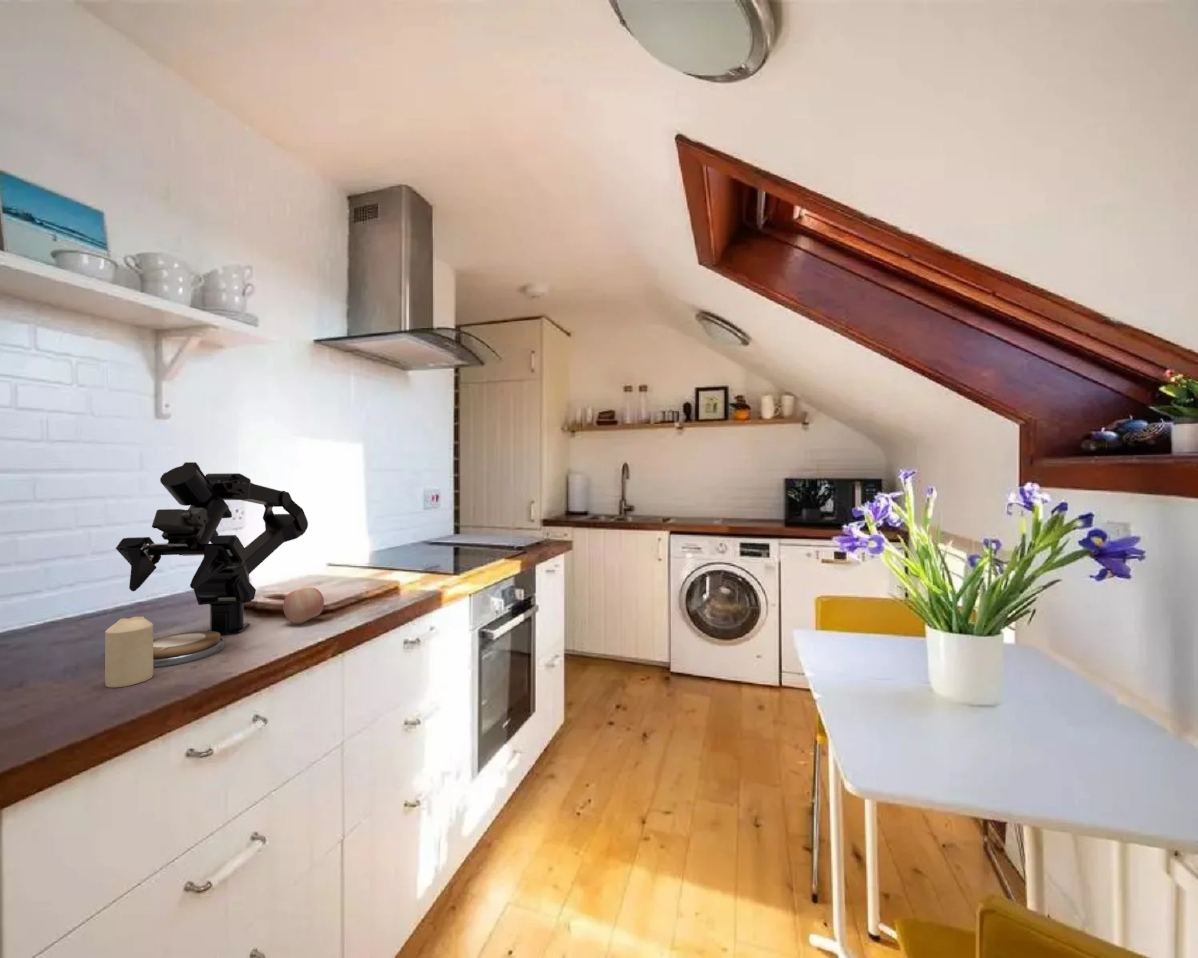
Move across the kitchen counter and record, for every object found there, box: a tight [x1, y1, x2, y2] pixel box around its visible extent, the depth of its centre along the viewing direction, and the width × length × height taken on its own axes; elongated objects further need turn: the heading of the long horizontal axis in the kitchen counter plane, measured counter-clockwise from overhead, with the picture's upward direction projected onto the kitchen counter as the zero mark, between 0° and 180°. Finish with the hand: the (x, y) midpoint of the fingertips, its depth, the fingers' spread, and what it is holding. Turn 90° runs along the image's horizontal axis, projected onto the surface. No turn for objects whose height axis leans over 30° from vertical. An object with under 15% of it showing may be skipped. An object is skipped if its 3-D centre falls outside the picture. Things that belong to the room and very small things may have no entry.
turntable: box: [153, 630, 221, 659], centre depth 89 cm, size 12×12×1 cm
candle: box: [104, 616, 154, 688], centre depth 77 cm, size 6×6×10 cm
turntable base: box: [153, 637, 225, 669], centre depth 89 cm, size 13×13×1 cm
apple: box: [282, 586, 325, 625], centre depth 109 cm, size 8×8×8 cm
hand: (162, 588), depth 85 cm, fingers open, 9 cm apart
